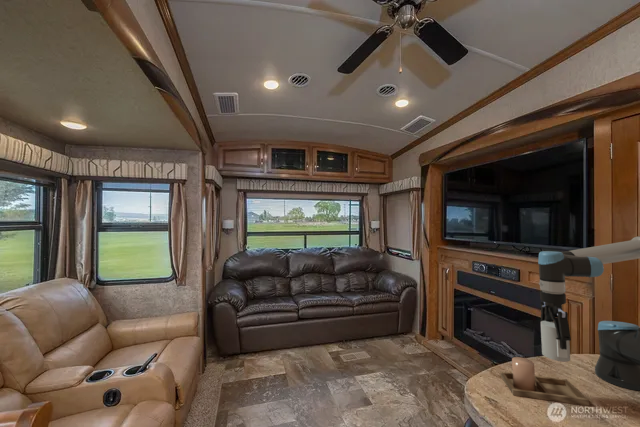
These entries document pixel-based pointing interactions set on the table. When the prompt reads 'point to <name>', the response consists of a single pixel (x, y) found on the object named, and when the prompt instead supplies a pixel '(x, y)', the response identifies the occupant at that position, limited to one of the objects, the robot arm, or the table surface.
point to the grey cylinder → (551, 342)
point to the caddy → (548, 390)
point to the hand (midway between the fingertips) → (555, 351)
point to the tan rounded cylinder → (523, 374)
